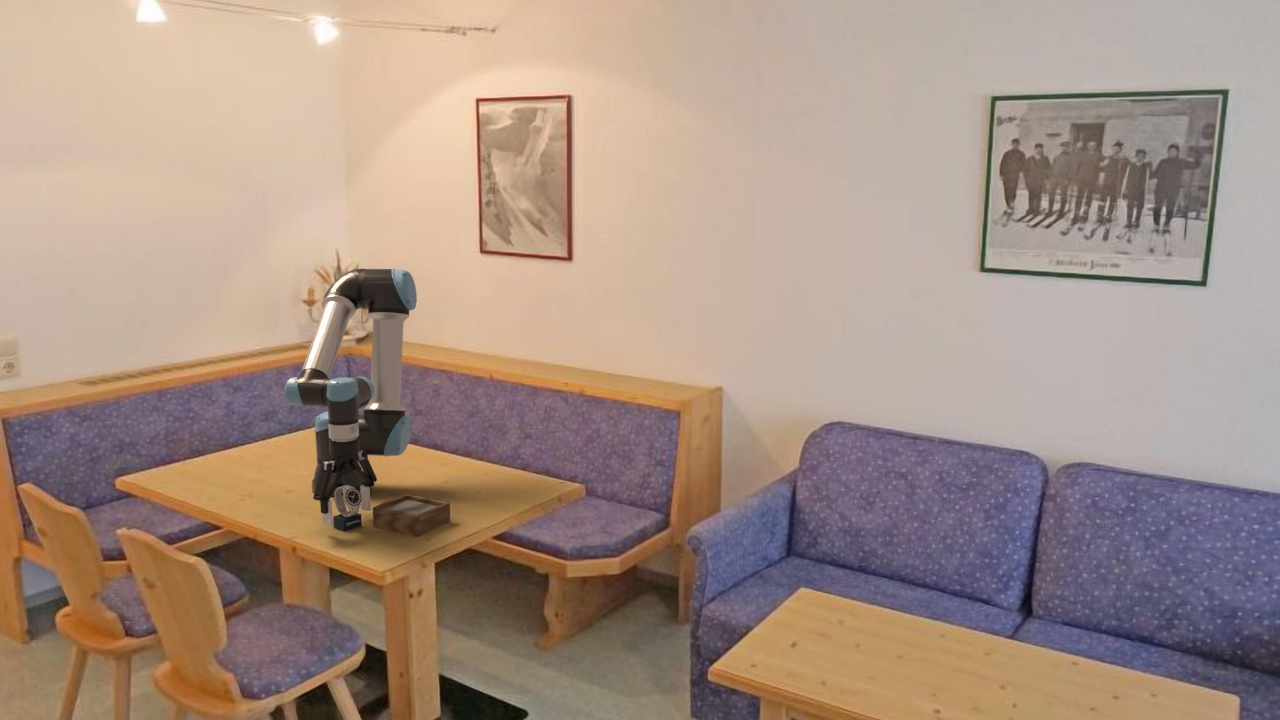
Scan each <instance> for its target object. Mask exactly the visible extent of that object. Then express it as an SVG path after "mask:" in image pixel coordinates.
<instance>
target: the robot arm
mask: <svg viewBox="0 0 1280 720" xmlns="http://www.w3.org/2000/svg"><path fill="white" fill-rule="evenodd" d="M417 298H418V296H417V288H416V283H415V281H414V277H413V275H412V274H411V273H410V272H409V271H407V270H404V269H398V268H397V269H396V268H355V269H354V268H353V269H351V270H349V271H346V272H345V273H343V274H342V275H340V276H339V277H338V278H337V279H336V280H335V281H333V283H332V284H331V285H330V287H328V289H327V291H325V294H324V296H323V299H322V302H321V307H322V313H321V315H320V318H319V320H318V323H317V327H316V330H315V332H314V335H313V337H312V340H311V344H310V347H309V348H308V352H307V354H306V357H305V360H304V363H303V365H302V369H301V371H300V374H299V375H298V376H295V377H290V378H288V379H287V380H286V382H285V386H284V397H285V400H286V402H287V404H289V405H291V406H297V407H303V408H304V407H327V411H324V412H322V413H320V414H319V415H317V416H316V418H315V423H314V424H315V427H314V428H315V429H314V434H315V447H316V448H315V449H316V453H315V454H316V467H315V471H314V476H313V479H312V481H311V491H312V493H313V497H312V498H313V500H315V501H318V502H319V503H320V512H321V514H322V525H325V526H328V527H331V526H334V522H333V501H332V500H330V499H331V497H335V496H334V494H335V490H336V489H337V488H338V487H341V486H345V485H349V486H352V487H354V488H355V489H357V490H358V491H359V492H360V493H361V494H362V496H361V497H362V501H361V505H360V510H362V511H367V512H370V511H371V507H372V506H371V498H372V487H375V483H376V482H377V481H378V478H377V475H376V474H375V472H374V469H373V467H372V464H371V463H370V461H369V458H368V457H369V456H373V457H374V456H376V457H378V456H379V457H382V456H383V457H392V456H393V457H394V456H395V457H398V456H401V455H402V454H403V453H404V452H405V451H406V450H407V447H408V445H409V443H410V440H411V434H412V419H411V417H410V416H408V415H407V414H406V409H405V408H404V407H403V406H402V404H401V390H402V370H403V369H402V368H403V367H402V365H403V342H404V340H403V339H404V324H405V323H404V322H405V321H406V320H407V319H408V318H409V317H410V311H414V310H415V309H416V306H417ZM359 309H361V310H362V309H364V310H368V311H367V314H368V316H369V317H370V319H372V339H371V340H372V341H371V344H372V345H371V362H370V363H371V365H370V379H369V378H368V377H364V376H355V377H336V378H330V376H331V373H332V370H333V368H334V364H335V361H336V359H337V356H338V353H339V351H340V347H341V344H342V342H343V339H344V335H345V333H346V330H347V327H348V324H349V321H350V319H351V318H353V317H354V316H355V314H356V312H357V310H359ZM365 405H366V406H365ZM364 406H365V407H364ZM361 407H362V408H363V407H364V408H363V414H359V409H361ZM341 495H342V497H343V492H341Z"/></svg>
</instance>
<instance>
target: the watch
mask: <svg viewBox="0 0 1280 720" xmlns="http://www.w3.org/2000/svg"><path fill="white" fill-rule="evenodd" d="M341 492H343V496H342V495H341ZM361 496H362V494H361V493H360V492H359V491H358V490H357V489H355V488H354V487H352V486H349V485H345V486H341V487H338V488H337V489H336V490H335V494H334V496H333V497H334V499H333V501H334V504H335V505H334V506H335V507H336V510H337V513H339V514H337V515H332V517H333V528H334V529H336V530H338V531H341V532H346V531H349V530H353V529H356V528H359V527H362V526H363V525H362V514H361V513H359V510H360V508H361V501H362V497H361ZM347 508H348V509H349V511H348V510H347Z"/></svg>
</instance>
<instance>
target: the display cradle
mask: <svg viewBox="0 0 1280 720" xmlns="http://www.w3.org/2000/svg"><path fill="white" fill-rule="evenodd" d="M448 523H451V502H447V501H442V500H439V499H433V498H427V497H424V496H419V495H414V494H409V493H405V494H402V495H400V496H398V497H395V498H393V499H390V500H388V501H385V502H382V503H380V504H378V505H375V506H373V507H372V525H373V527H375V528H378V529H383V530H386V531H387V530H388V531H391V532H396V533H400V534H403V535H409V536H412V537H416V538H417V537H418V538H419V537H421V536H422V535H425V534H427V533H430V532H431V531H433V530H435V529H438V528H440V527H442V526H444V525H446V524H448Z"/></svg>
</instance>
